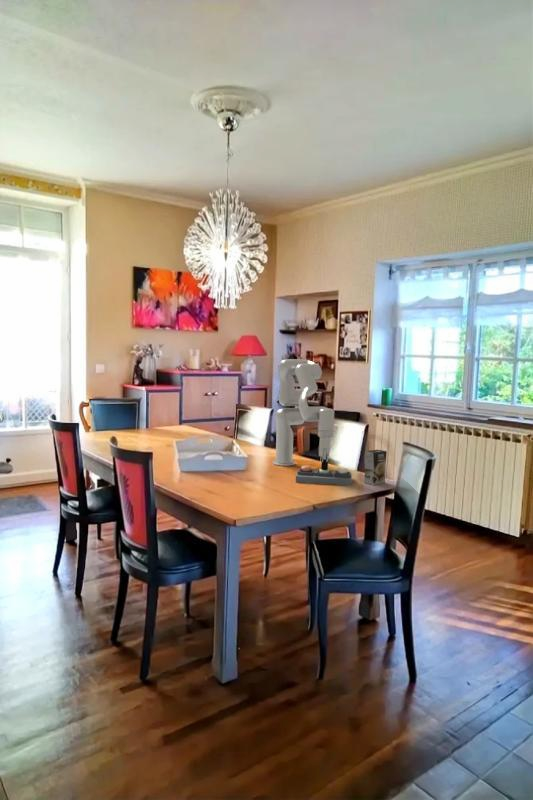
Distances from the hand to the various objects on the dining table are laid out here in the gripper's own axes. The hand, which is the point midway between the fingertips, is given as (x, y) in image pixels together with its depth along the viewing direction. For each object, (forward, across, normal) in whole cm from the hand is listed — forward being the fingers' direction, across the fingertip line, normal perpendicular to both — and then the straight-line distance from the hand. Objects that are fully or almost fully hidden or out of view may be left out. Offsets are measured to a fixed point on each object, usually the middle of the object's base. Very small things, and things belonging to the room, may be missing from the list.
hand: (324, 469), depth 265 cm
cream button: (+1, 0, +9) cm, 9 cm away
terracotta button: (+1, 0, -9) cm, 9 cm away
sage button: (+2, 0, 0) cm, 2 cm away
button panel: (+6, 0, 0) cm, 6 cm away
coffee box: (+6, -2, +25) cm, 26 cm away
